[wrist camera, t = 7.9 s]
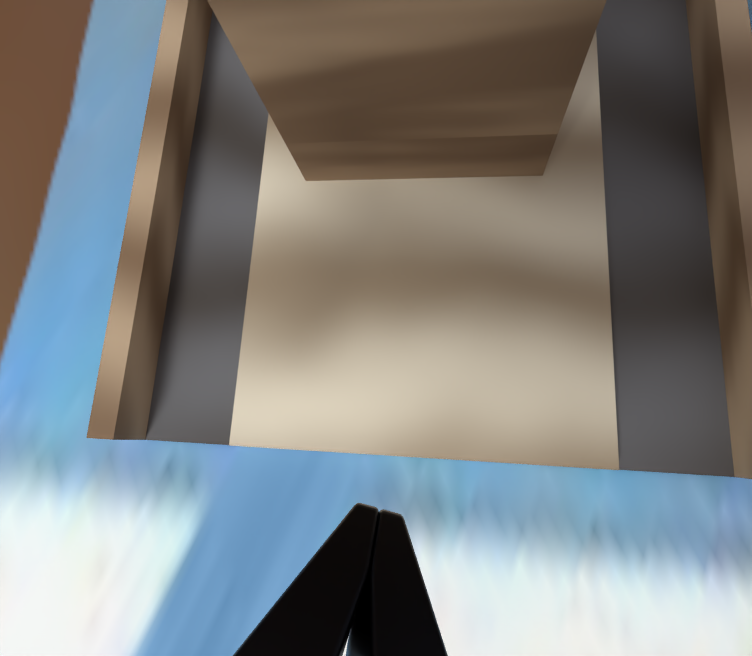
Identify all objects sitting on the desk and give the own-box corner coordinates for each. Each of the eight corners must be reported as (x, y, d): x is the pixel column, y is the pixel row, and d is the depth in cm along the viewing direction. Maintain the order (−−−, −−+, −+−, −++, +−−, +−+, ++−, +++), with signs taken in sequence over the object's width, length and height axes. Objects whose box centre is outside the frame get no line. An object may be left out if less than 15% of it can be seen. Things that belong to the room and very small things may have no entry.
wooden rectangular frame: (766, 478, 15) (830, 486, 13) (124, 438, 18) (72, 437, 16) (694, -135, 20) (729, -215, 18) (210, -81, 24) (182, -142, 21)
